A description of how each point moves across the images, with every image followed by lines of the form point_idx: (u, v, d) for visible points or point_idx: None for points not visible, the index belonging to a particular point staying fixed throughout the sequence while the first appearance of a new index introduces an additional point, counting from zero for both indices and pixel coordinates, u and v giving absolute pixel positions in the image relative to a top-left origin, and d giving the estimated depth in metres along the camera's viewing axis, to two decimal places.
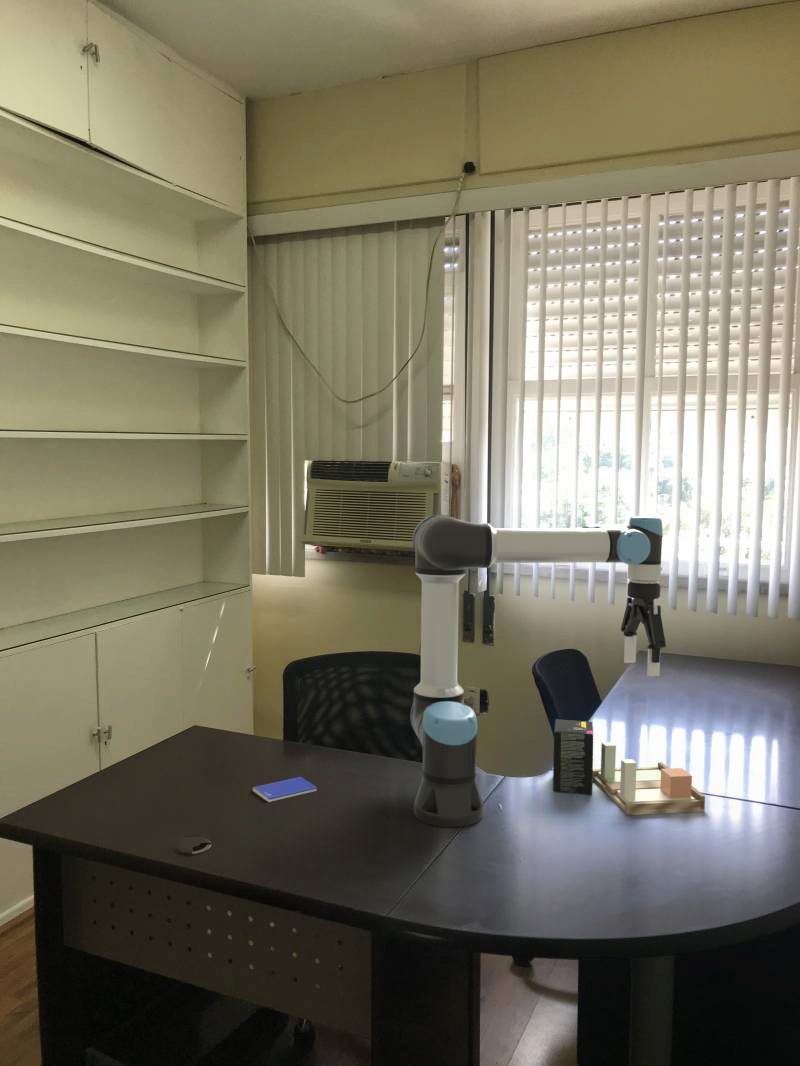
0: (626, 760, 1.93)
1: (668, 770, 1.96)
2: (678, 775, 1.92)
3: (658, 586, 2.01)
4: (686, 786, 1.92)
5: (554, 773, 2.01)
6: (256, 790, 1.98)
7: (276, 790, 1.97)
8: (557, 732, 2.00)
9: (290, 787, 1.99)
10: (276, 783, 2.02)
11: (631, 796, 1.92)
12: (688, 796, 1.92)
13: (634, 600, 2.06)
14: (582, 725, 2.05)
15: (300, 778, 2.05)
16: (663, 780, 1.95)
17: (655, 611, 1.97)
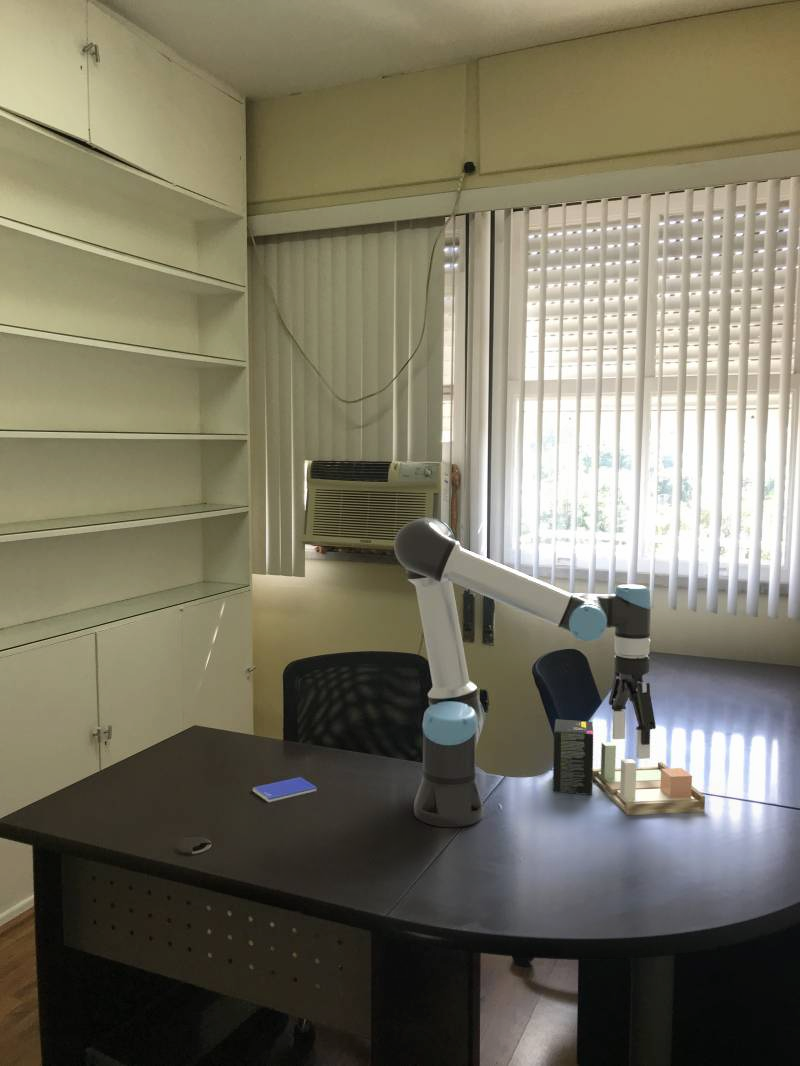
0: (626, 760, 1.93)
1: (668, 770, 1.96)
2: (678, 775, 1.92)
3: (647, 661, 1.88)
4: (686, 786, 1.92)
5: (554, 773, 2.01)
6: (256, 790, 1.98)
7: (276, 791, 1.97)
8: (557, 732, 2.00)
9: (289, 787, 1.99)
10: (276, 783, 2.02)
11: (631, 796, 1.92)
12: (688, 796, 1.92)
13: (622, 674, 1.93)
14: (582, 725, 2.05)
15: (300, 778, 2.05)
16: (663, 780, 1.95)
17: (643, 689, 1.84)
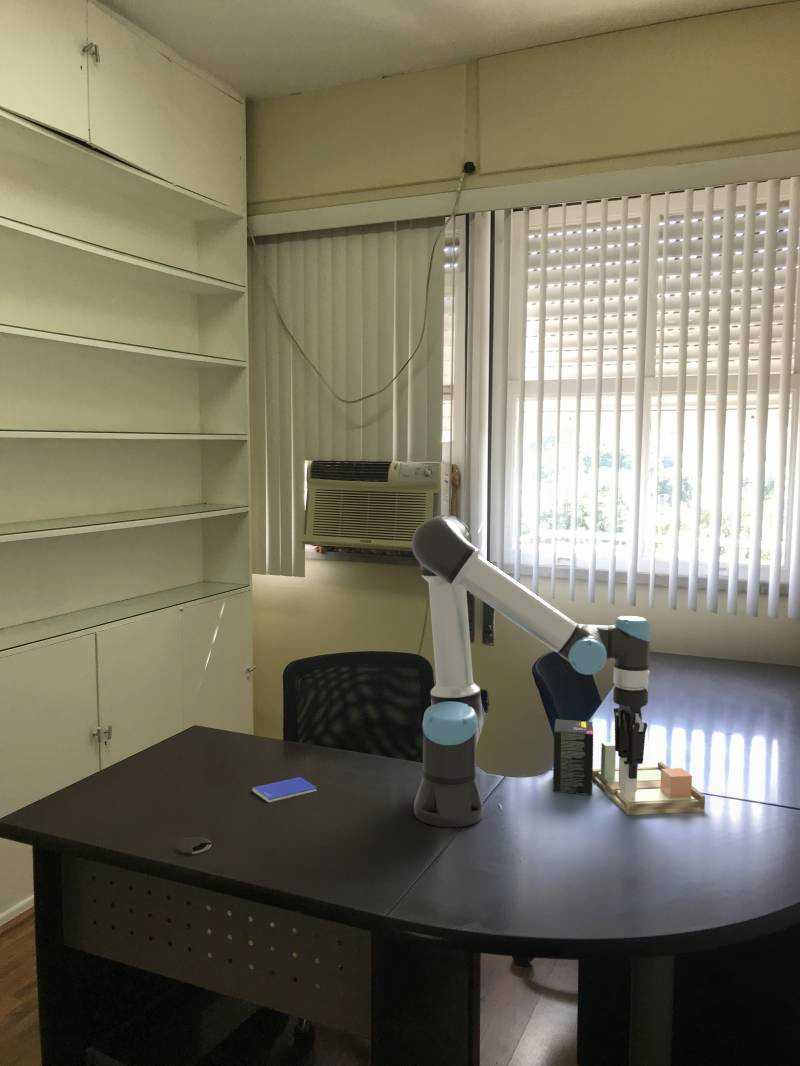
0: (626, 760, 1.93)
1: (668, 770, 1.96)
2: (678, 775, 1.92)
3: (646, 693, 1.89)
4: (686, 786, 1.92)
5: (554, 773, 2.01)
6: (256, 790, 1.98)
7: (276, 791, 1.97)
8: (557, 732, 2.00)
9: (289, 787, 1.99)
10: (276, 783, 2.02)
11: (631, 796, 1.92)
12: (688, 796, 1.92)
13: (620, 705, 1.94)
14: (582, 725, 2.05)
15: (300, 778, 2.05)
16: (663, 780, 1.95)
17: (640, 730, 1.86)
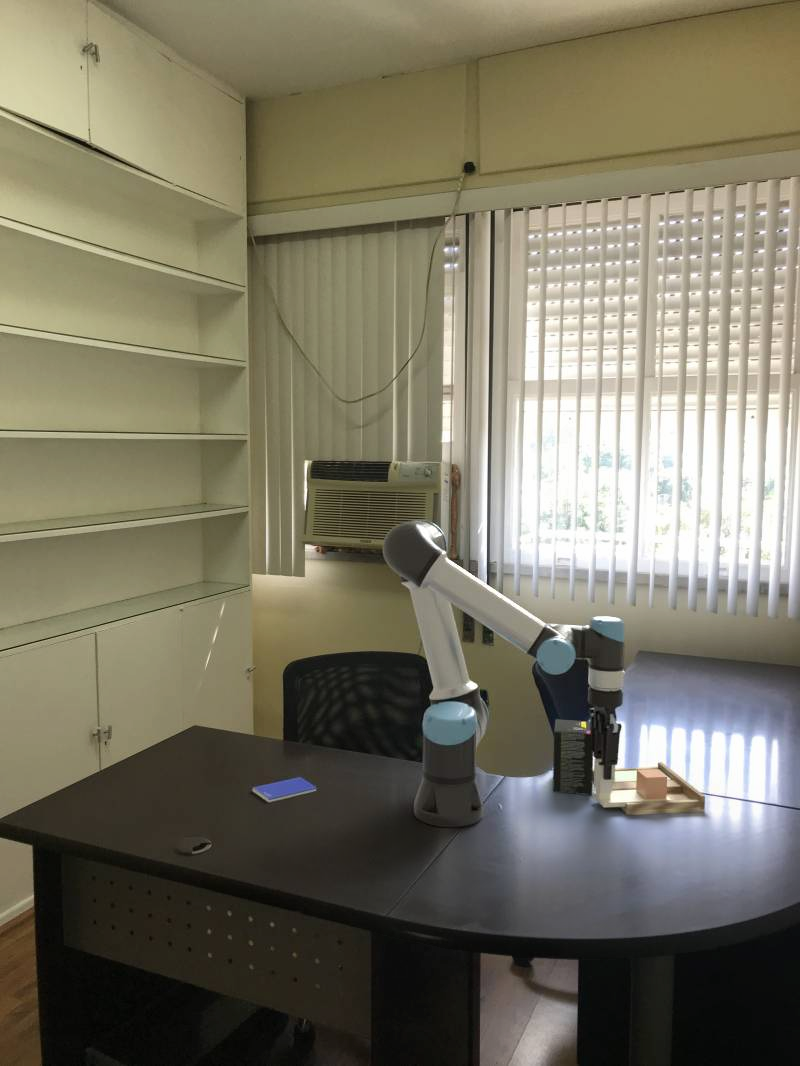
0: (601, 761, 1.92)
1: (643, 771, 1.95)
2: (653, 776, 1.91)
3: (620, 693, 1.88)
4: (661, 787, 1.91)
5: (554, 773, 2.01)
6: (256, 790, 1.98)
7: (276, 791, 1.97)
8: (557, 732, 2.00)
9: (289, 787, 1.99)
10: (276, 783, 2.02)
11: (606, 797, 1.91)
12: (663, 797, 1.92)
13: (595, 705, 1.93)
14: (582, 725, 2.05)
15: (300, 778, 2.05)
16: (639, 781, 1.94)
17: (614, 731, 1.85)
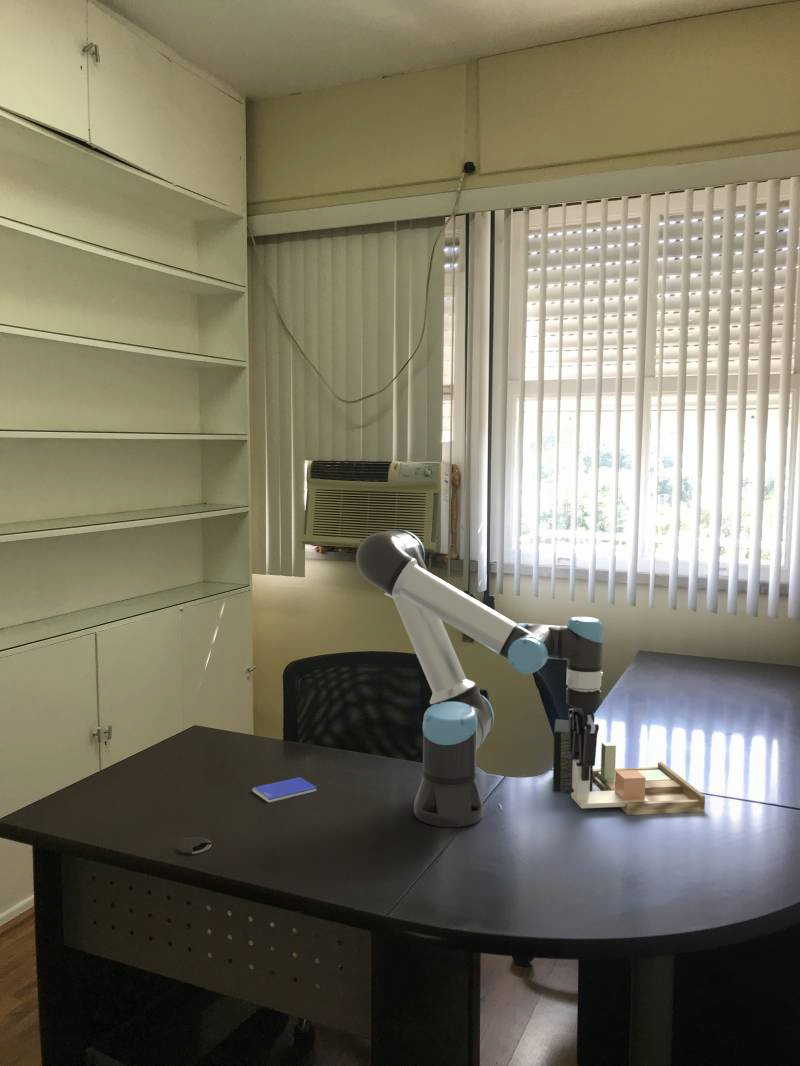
0: None
1: (622, 771, 1.94)
2: (631, 777, 1.91)
3: (598, 694, 1.87)
4: (640, 788, 1.91)
5: (554, 773, 2.01)
6: (256, 790, 1.98)
7: (276, 791, 1.97)
8: (557, 732, 2.00)
9: (289, 787, 1.99)
10: (276, 783, 2.01)
11: (584, 798, 1.90)
12: (642, 798, 1.91)
13: (574, 706, 1.92)
14: None
15: (299, 778, 2.05)
16: (617, 782, 1.94)
17: (591, 732, 1.84)
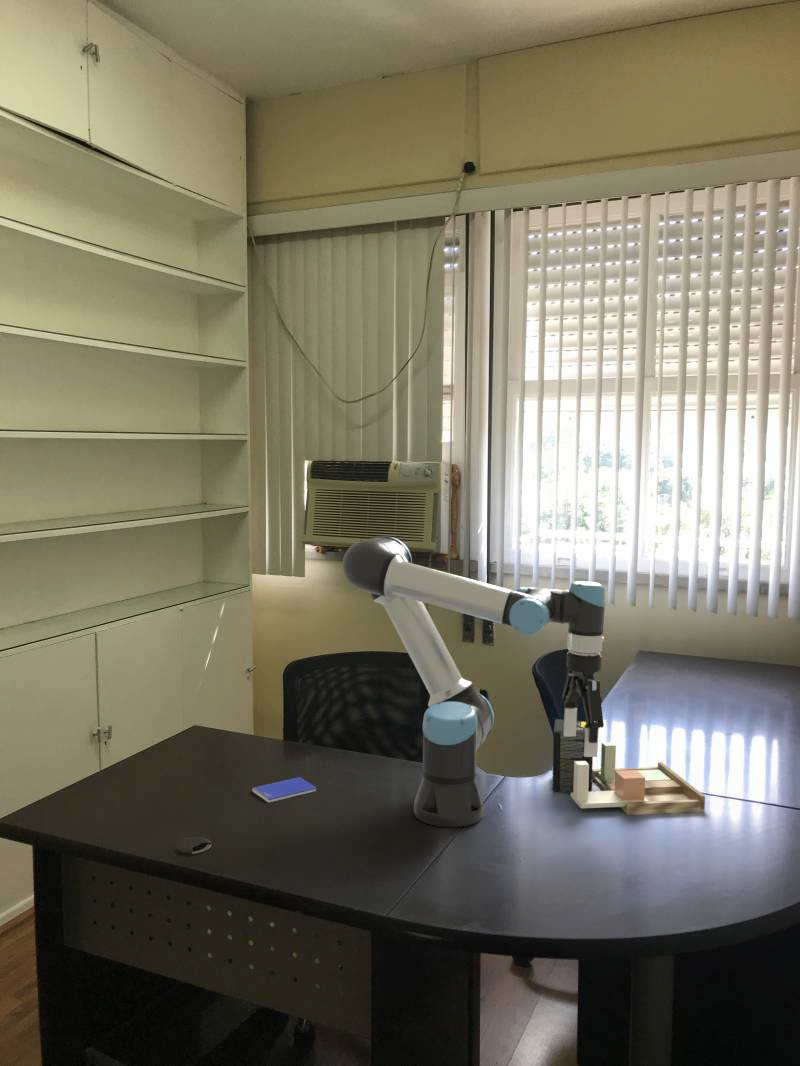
0: (579, 762, 1.91)
1: (622, 771, 1.94)
2: (631, 777, 1.91)
3: (599, 659, 1.86)
4: (639, 788, 1.91)
5: (553, 773, 2.01)
6: (256, 791, 1.98)
7: (276, 791, 1.97)
8: (556, 732, 2.00)
9: (289, 788, 1.99)
10: (275, 783, 2.01)
11: (584, 798, 1.90)
12: (641, 798, 1.91)
13: (574, 671, 1.92)
14: (582, 725, 2.05)
15: (299, 778, 2.05)
16: (617, 782, 1.94)
17: (593, 687, 1.83)
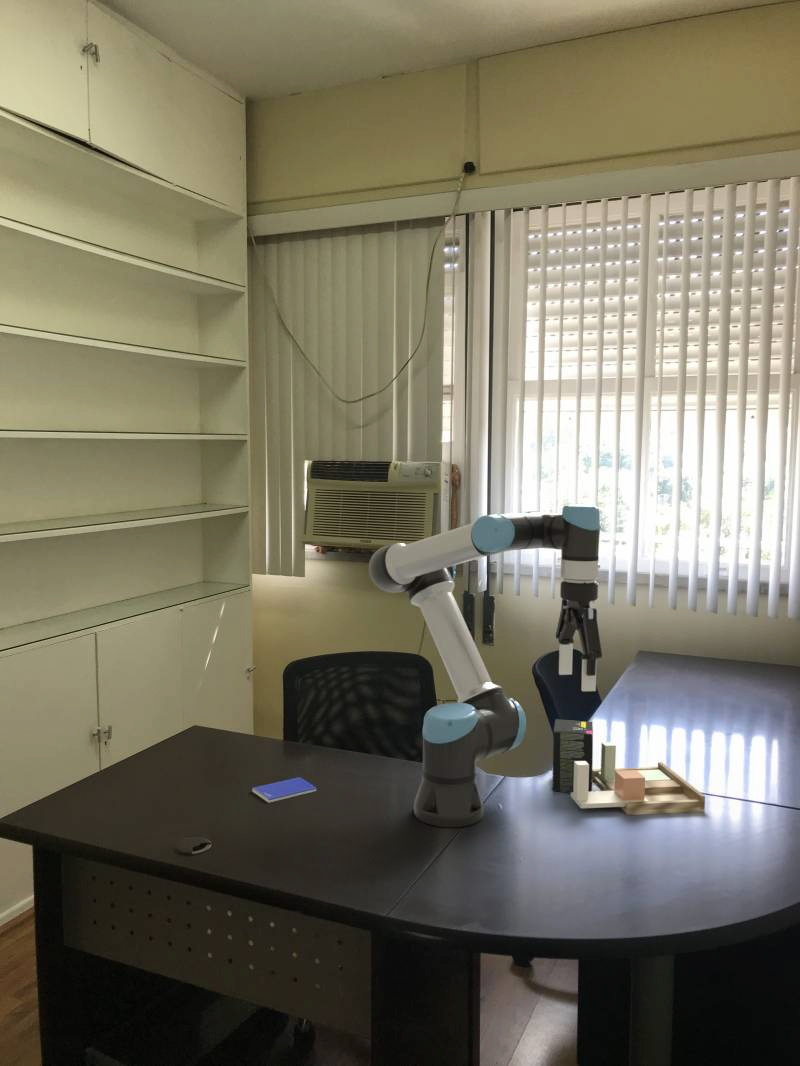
0: (579, 762, 1.91)
1: (622, 771, 1.94)
2: (631, 777, 1.91)
3: (595, 586, 1.73)
4: (639, 788, 1.91)
5: (553, 773, 2.01)
6: (256, 791, 1.98)
7: (276, 791, 1.97)
8: (556, 732, 2.00)
9: (289, 788, 1.99)
10: (275, 783, 2.01)
11: (584, 798, 1.90)
12: (641, 798, 1.91)
13: (569, 602, 1.78)
14: (582, 725, 2.05)
15: (299, 778, 2.05)
16: (617, 782, 1.94)
17: (590, 616, 1.69)
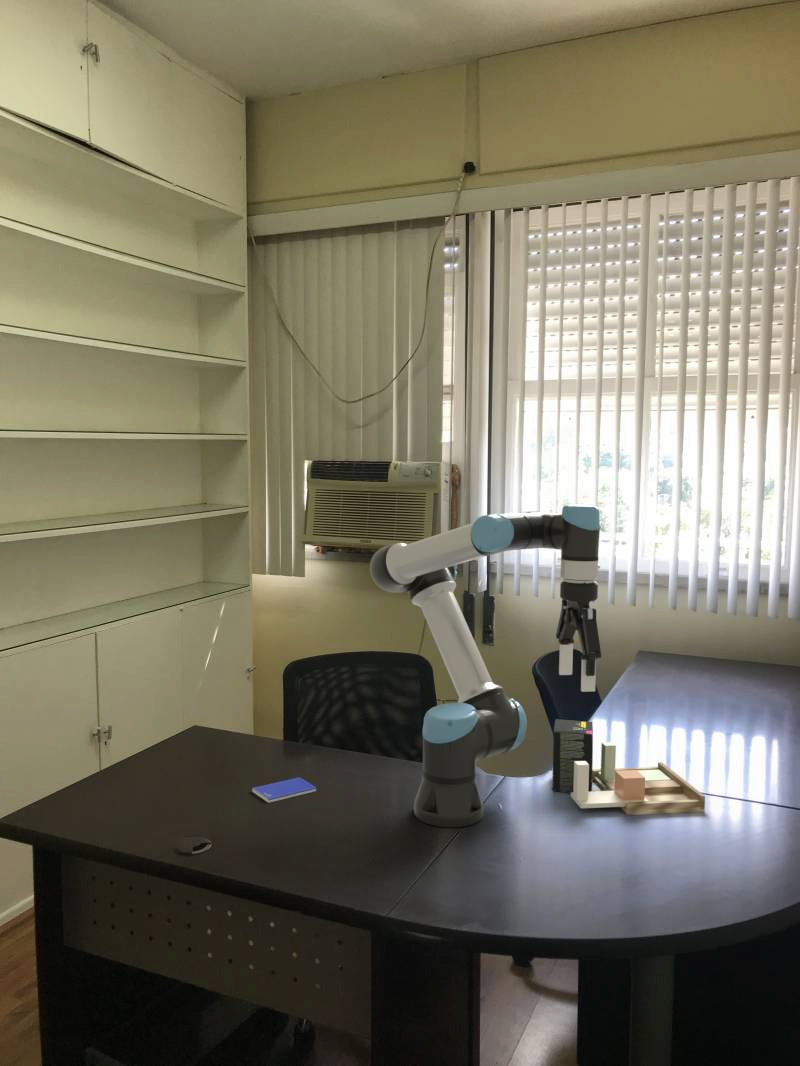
0: (579, 762, 1.91)
1: (622, 771, 1.94)
2: (631, 777, 1.91)
3: (595, 586, 1.72)
4: (639, 788, 1.91)
5: (553, 773, 2.01)
6: (255, 791, 1.98)
7: (276, 791, 1.97)
8: (556, 732, 2.00)
9: (289, 788, 1.99)
10: (275, 784, 2.01)
11: (584, 798, 1.90)
12: (641, 798, 1.91)
13: (569, 602, 1.78)
14: (582, 725, 2.05)
15: (299, 778, 2.05)
16: (617, 782, 1.94)
17: (589, 616, 1.69)
